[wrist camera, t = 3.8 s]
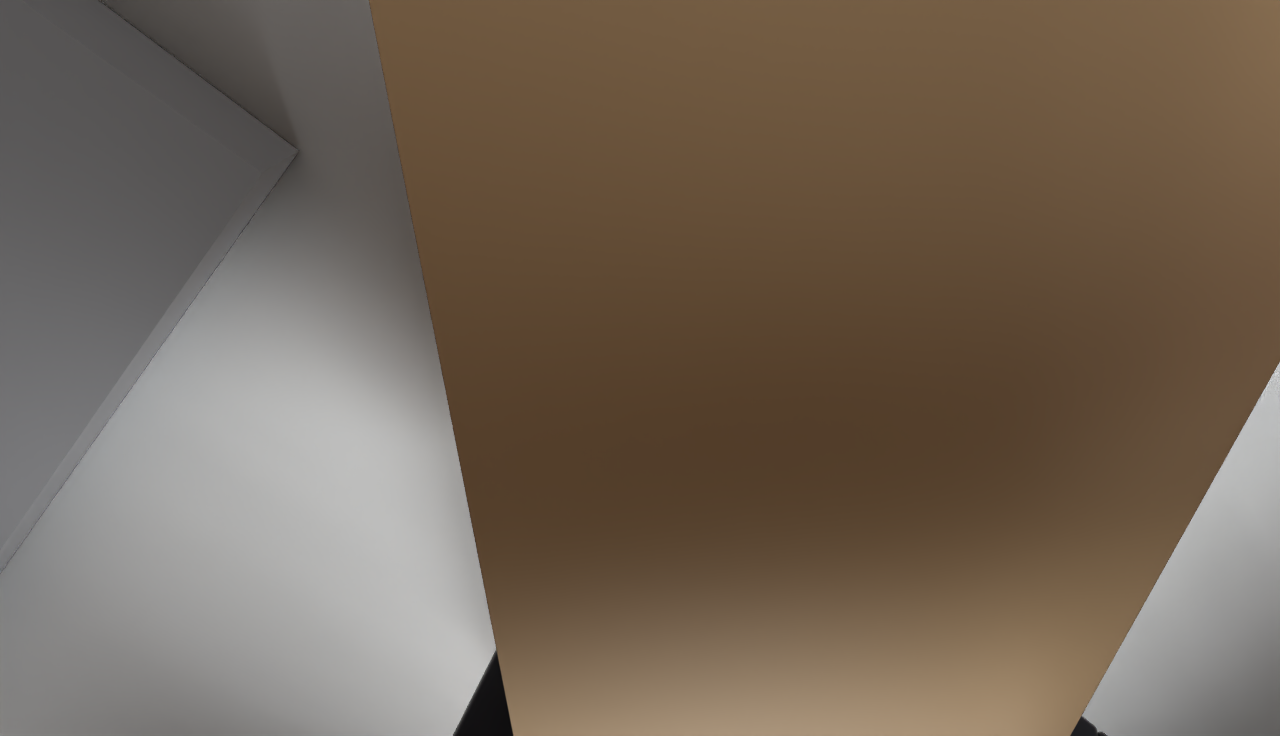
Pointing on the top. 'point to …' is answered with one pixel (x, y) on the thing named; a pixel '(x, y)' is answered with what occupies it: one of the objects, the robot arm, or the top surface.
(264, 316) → the top surface
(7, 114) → the peg stand
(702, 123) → the wooden block
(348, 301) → the top surface
